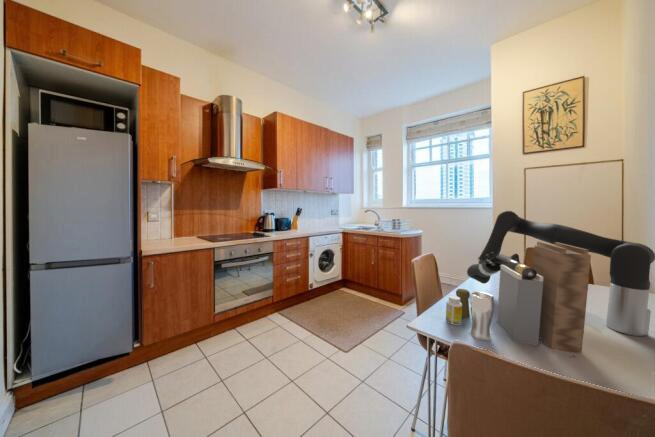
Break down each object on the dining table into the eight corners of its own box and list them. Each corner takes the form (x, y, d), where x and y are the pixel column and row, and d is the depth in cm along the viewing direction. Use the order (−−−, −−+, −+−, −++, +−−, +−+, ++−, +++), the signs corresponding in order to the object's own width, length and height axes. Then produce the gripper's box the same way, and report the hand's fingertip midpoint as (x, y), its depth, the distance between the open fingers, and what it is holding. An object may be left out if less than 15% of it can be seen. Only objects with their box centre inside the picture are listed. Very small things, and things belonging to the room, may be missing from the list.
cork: (472, 319, 99) (473, 292, 98) (456, 317, 100) (457, 291, 100) (466, 312, 105) (468, 287, 104) (451, 311, 106) (453, 286, 105)
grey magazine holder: (517, 324, 95) (521, 266, 93) (538, 345, 81) (543, 276, 80) (496, 322, 97) (500, 264, 95) (513, 341, 83) (518, 275, 82)
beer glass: (470, 328, 92) (473, 290, 91) (492, 335, 87) (495, 294, 86) (467, 336, 86) (469, 295, 85) (490, 343, 82) (493, 300, 81)
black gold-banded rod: (495, 263, 103) (495, 254, 103) (506, 263, 102) (506, 254, 102) (523, 280, 81) (524, 268, 81) (538, 280, 80) (538, 268, 80)
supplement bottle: (463, 322, 96) (464, 297, 96) (459, 327, 92) (460, 301, 92) (448, 317, 100) (449, 293, 99) (443, 322, 96) (444, 297, 95)
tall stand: (553, 330, 91) (560, 242, 88) (581, 353, 77) (591, 250, 75) (528, 327, 93) (534, 241, 90) (551, 349, 79) (560, 248, 77)
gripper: (472, 256, 117) (484, 245, 103) (506, 259, 113) (523, 247, 99) (474, 272, 114) (486, 262, 100) (509, 275, 110) (527, 265, 96)
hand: (504, 255), depth 99 cm, fingers open, 8 cm apart
